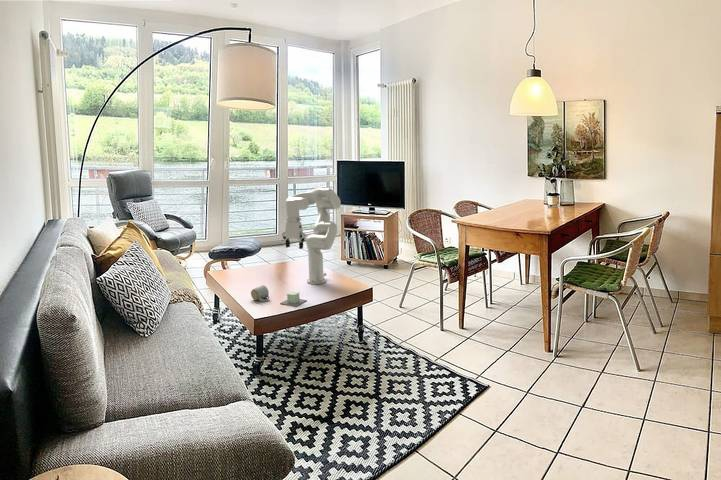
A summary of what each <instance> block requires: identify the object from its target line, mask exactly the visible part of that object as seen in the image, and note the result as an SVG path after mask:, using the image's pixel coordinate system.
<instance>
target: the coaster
mask: <svg viewBox="0 0 721 480" xmlns="http://www.w3.org/2000/svg"><path fill="white" fill-rule="evenodd" d="M306 302H308V301H307V299H301V298H300V301H298V302H297V303H289V302H287V299H285V300H284V301H282V302H280V303H279V304H280V305H285V306H289V307H290V306H291V307H298V306H300V305H302V304H304V303H306Z"/></svg>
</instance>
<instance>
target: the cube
mask: <svg viewBox="0 0 721 480" xmlns="http://www.w3.org/2000/svg"><path fill="white" fill-rule="evenodd" d="M300 299H301V298H300V292H298V291H290V292H288V293H286V300H287V302H289V303H297V302H298V301H300Z"/></svg>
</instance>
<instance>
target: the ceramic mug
mask: <svg viewBox="0 0 721 480" xmlns="http://www.w3.org/2000/svg"><path fill="white" fill-rule="evenodd" d="M269 295H270V293H269V289H268V287H267V286H266V285H265V284H264V285H263V284H262V285H260V286H257V287H255V288H252V289H251V292H250V296H251V298H252V299H253V301H261V302H265V303H266V302H269V299H270V296H269Z"/></svg>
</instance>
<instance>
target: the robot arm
mask: <svg viewBox="0 0 721 480" xmlns="http://www.w3.org/2000/svg"><path fill="white" fill-rule="evenodd" d="M341 202H342V201H341V199H340V197H339V196H338V195H337V193H336V191H335V190H333V188H330V187H316V188H314V189H311V190H310V191H307V192H301V193H297V194H293V195H291V196H289V197H287V199H286V200H285V207H286V208H285V209H286V222H285V231H284V232H281V236H282V239H283V240H284V242H285V248H290V247H291V242H290V239H291V240H292V239H293V240H298V242H299V243H298V247H299V248H298V249H299V250H302V249H303V248H304V242H305V244H306V248H307V254H308V255H307V257H308V278H307V279H306V283H307V284H310V285H320V284H324V283H326V282H327V279H326V278H325V277H326V276H327V273H326V272H324V256H323V253H322V251H329V250H331V249H332V247H333V244H334V242H335V240H336V237H337V233H338V226H337V224H336V223H335V222H333V221H330V220H331V216H330V214H329V212H328V210H338V209H340V207H341V204H342V203H341ZM311 205H312V206H313V205H316V208H317V219H316V221H315V222H314V226H313V234H310V235H307V234H306V233H304V232H303V225H302V218H300V211H305V210H307V209H308V208H309V206H311Z"/></svg>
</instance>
